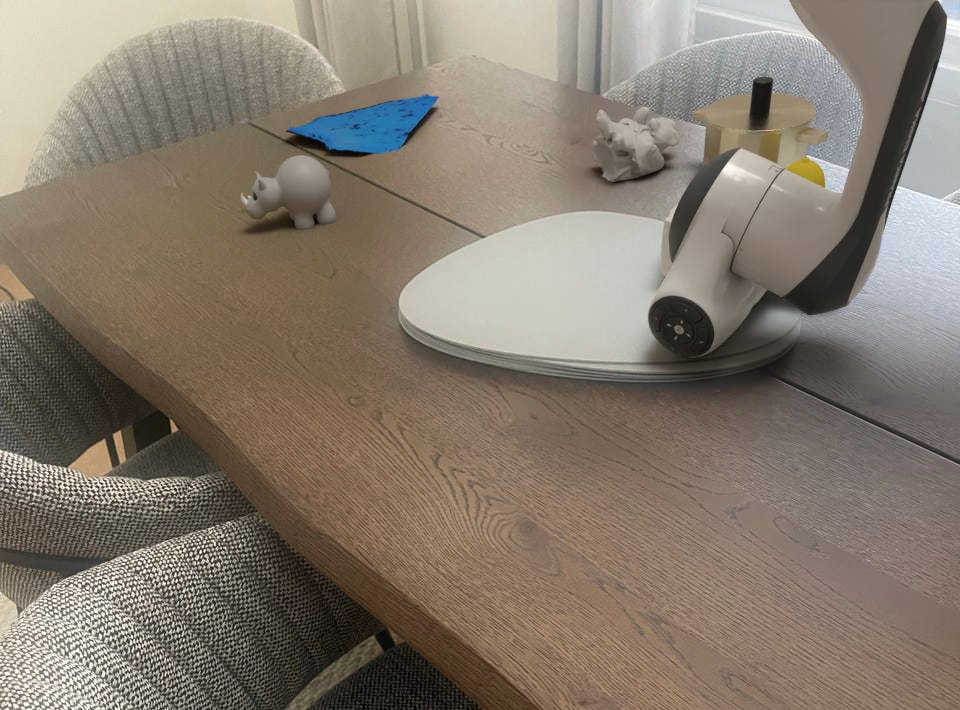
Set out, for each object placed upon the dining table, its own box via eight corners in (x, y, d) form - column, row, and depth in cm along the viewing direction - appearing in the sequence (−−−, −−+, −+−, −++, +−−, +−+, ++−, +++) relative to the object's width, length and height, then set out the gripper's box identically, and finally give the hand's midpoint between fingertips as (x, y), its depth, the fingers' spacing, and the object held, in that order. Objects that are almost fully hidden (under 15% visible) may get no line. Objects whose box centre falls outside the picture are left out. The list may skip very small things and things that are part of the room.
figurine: (589, 107, 124) (676, 72, 124) (584, 150, 134) (664, 117, 134) (614, 166, 124) (701, 130, 124) (606, 205, 134) (687, 172, 134)
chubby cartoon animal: (246, 226, 131) (229, 160, 125) (331, 208, 133) (319, 142, 127) (254, 247, 126) (236, 180, 120) (343, 227, 128) (330, 160, 122)
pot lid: (742, 95, 128) (746, 56, 125) (836, 112, 121) (843, 72, 118) (681, 127, 122) (684, 87, 118) (776, 148, 115) (782, 106, 111)
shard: (302, 111, 163) (299, 98, 161) (442, 100, 161) (440, 87, 159) (275, 167, 146) (272, 153, 144) (431, 155, 144) (429, 141, 142)
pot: (720, 156, 135) (726, 89, 128) (838, 183, 125) (851, 111, 119) (666, 187, 129) (669, 118, 123) (785, 218, 119) (796, 145, 113)
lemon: (798, 240, 115) (809, 170, 109) (762, 227, 118) (770, 158, 112) (828, 225, 117) (840, 156, 111) (792, 213, 120) (802, 145, 114)
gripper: (842, 245, 95) (881, 191, 103) (650, 216, 104) (699, 168, 112) (831, 305, 100) (868, 249, 108) (648, 272, 108) (695, 223, 116)
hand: (781, 208), depth 110 cm, fingers open, 8 cm apart
